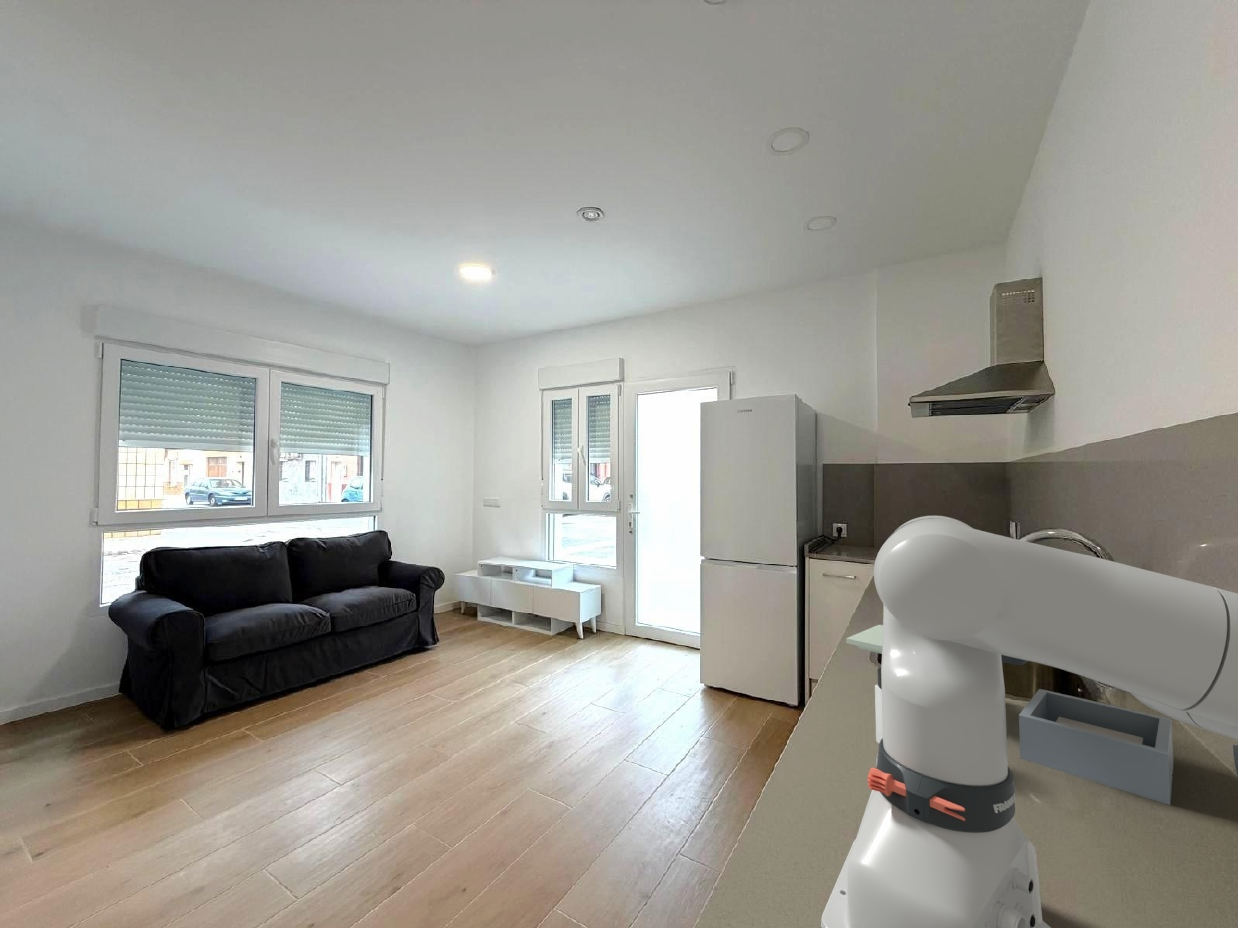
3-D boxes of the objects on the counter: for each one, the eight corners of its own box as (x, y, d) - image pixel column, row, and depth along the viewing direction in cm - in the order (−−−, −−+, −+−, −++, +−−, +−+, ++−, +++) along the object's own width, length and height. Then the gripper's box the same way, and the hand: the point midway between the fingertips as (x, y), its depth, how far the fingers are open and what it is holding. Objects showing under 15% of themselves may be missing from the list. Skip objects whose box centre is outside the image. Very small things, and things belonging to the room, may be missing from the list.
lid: (931, 668, 95) (929, 586, 96) (846, 648, 107) (844, 575, 108) (959, 649, 105) (957, 576, 106) (879, 633, 117) (877, 567, 118)
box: (1170, 807, 68) (1167, 754, 69) (1020, 760, 80) (1018, 714, 81) (1173, 765, 79) (1171, 718, 79) (1040, 728, 91) (1039, 688, 91)
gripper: (943, 636, 90) (869, 619, 102) (996, 620, 101) (924, 606, 112) (942, 600, 90) (868, 587, 102) (995, 587, 101) (923, 577, 113)
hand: (897, 597), depth 107 cm, fingers closed on lid, 3 cm apart
